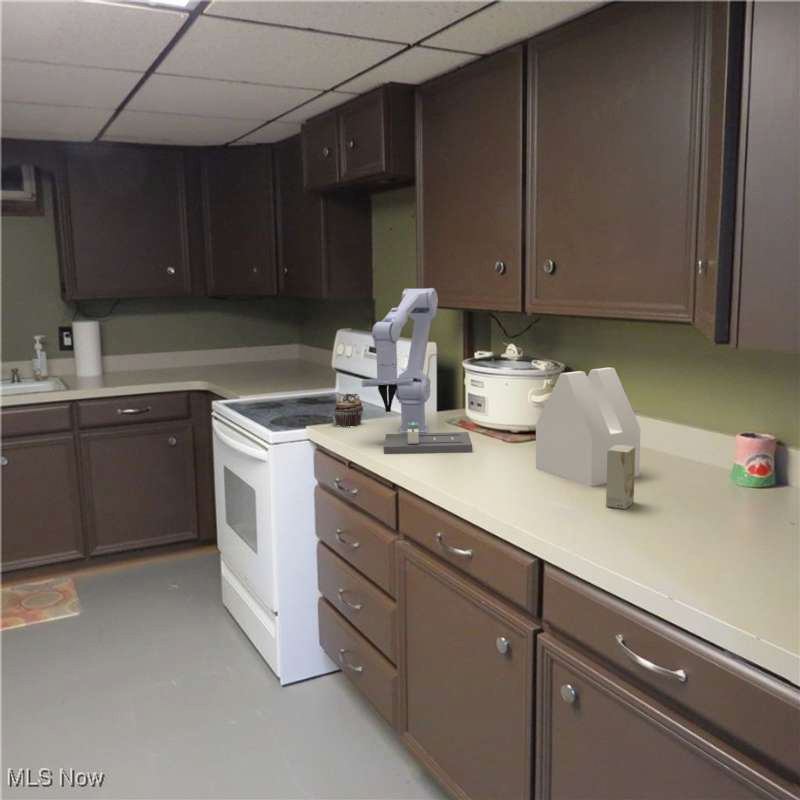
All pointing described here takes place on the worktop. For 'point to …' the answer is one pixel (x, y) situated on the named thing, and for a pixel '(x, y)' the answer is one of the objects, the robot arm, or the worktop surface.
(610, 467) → the skincare box
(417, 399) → the robot arm
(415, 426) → the teal fader
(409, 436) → the ivory fader
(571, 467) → the grey house shaped holder
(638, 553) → the worktop surface
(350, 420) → the cupcake
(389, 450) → the console
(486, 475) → the worktop surface
